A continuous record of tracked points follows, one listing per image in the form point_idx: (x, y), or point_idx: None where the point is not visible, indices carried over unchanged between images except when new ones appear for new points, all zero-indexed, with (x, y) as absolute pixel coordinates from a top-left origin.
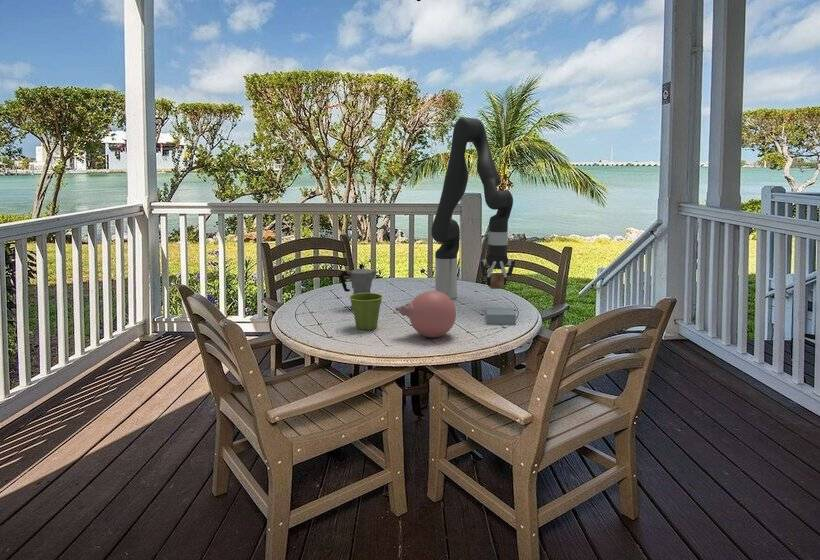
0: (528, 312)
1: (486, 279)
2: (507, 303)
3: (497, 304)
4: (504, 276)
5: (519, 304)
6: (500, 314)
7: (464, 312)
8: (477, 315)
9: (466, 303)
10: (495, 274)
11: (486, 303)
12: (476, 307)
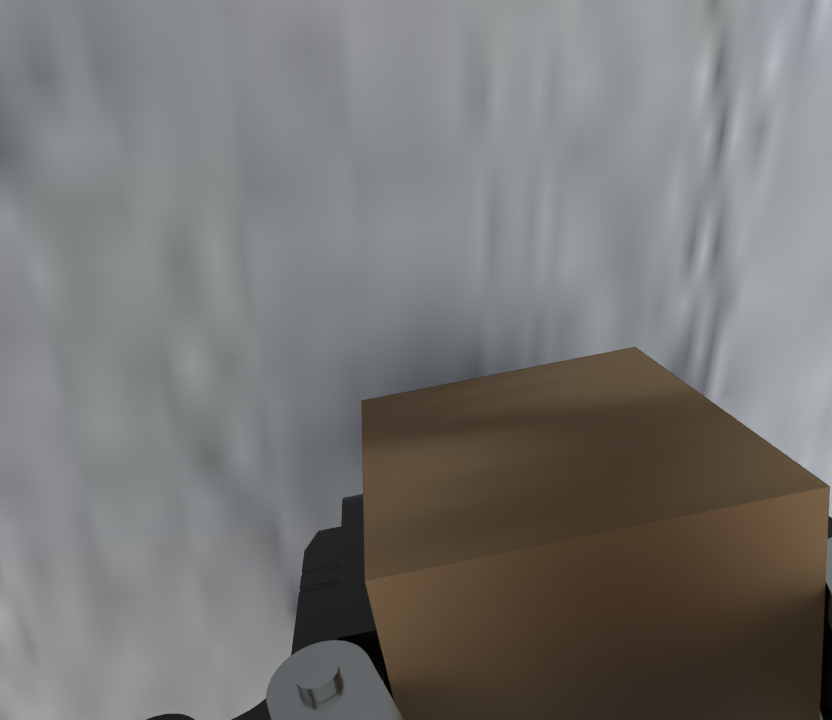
0: (805, 468)
1: (300, 629)
2: (630, 15)
3: (484, 100)
4: (823, 712)
5: (787, 66)
6: None
7: (109, 561)
8: (269, 651)
9: (24, 80)
10: (582, 673)
11: (324, 48)
12: (211, 312)
